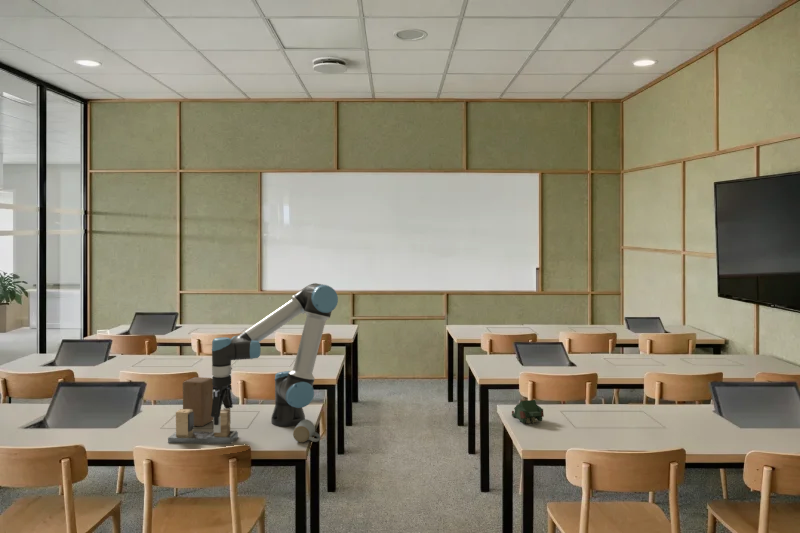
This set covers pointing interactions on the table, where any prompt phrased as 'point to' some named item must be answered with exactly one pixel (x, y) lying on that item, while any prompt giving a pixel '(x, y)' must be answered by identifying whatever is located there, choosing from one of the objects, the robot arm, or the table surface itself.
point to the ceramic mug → (305, 431)
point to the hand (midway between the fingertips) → (222, 427)
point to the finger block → (224, 424)
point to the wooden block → (199, 399)
